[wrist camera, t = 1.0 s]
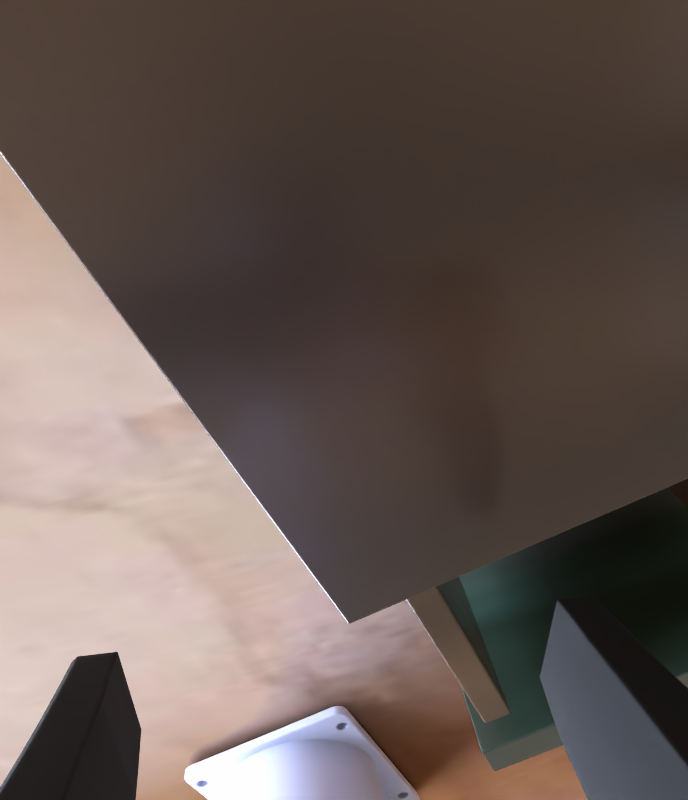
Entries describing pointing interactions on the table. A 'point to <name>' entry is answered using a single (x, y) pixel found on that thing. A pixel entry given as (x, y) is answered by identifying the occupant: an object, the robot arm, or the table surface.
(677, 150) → the cabinet
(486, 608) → the drawer
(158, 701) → the table surface
